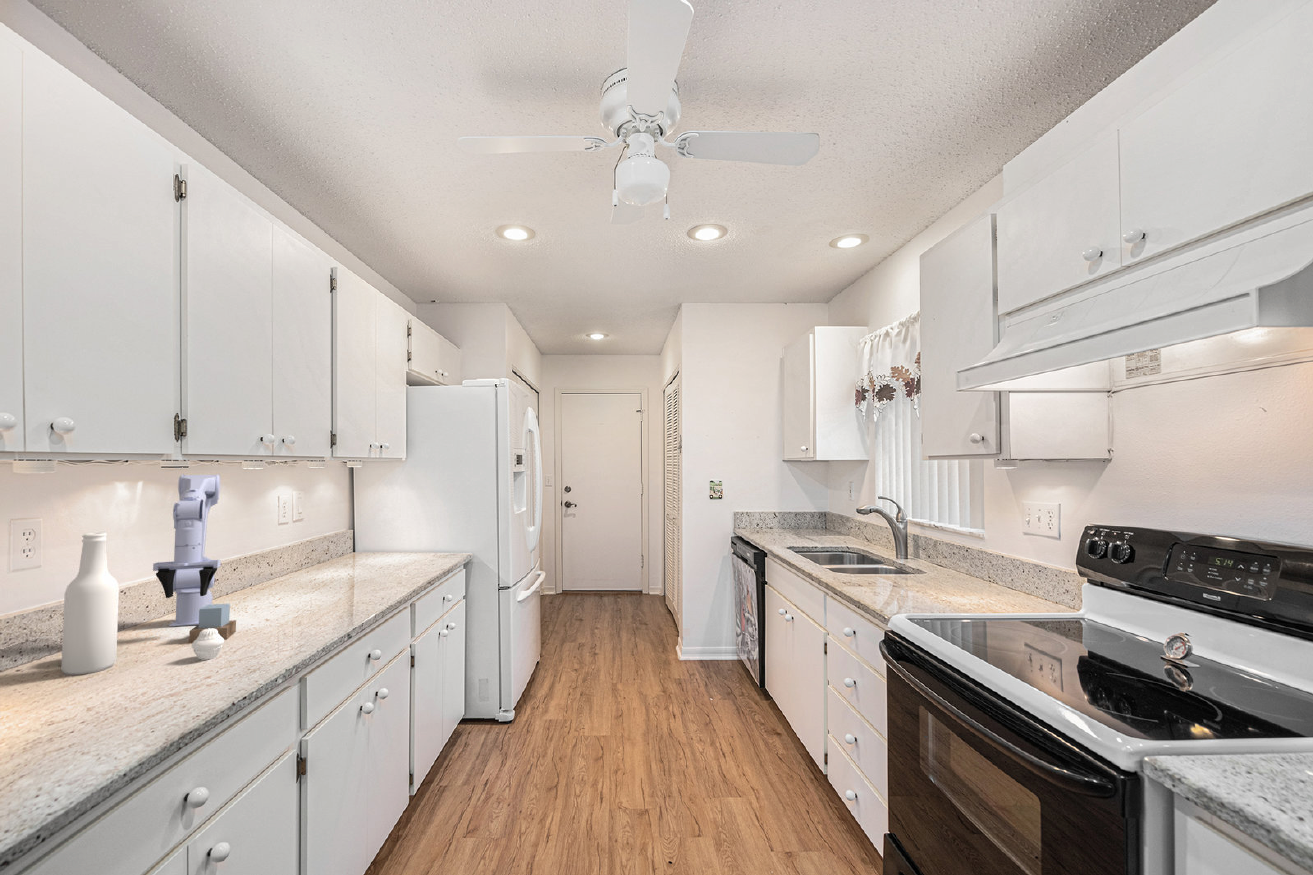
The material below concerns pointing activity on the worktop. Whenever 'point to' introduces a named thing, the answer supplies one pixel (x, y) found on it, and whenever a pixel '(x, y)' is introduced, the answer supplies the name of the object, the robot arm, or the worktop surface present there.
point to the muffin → (208, 644)
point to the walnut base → (223, 631)
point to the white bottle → (90, 612)
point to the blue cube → (214, 616)
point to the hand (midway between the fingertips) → (186, 596)
